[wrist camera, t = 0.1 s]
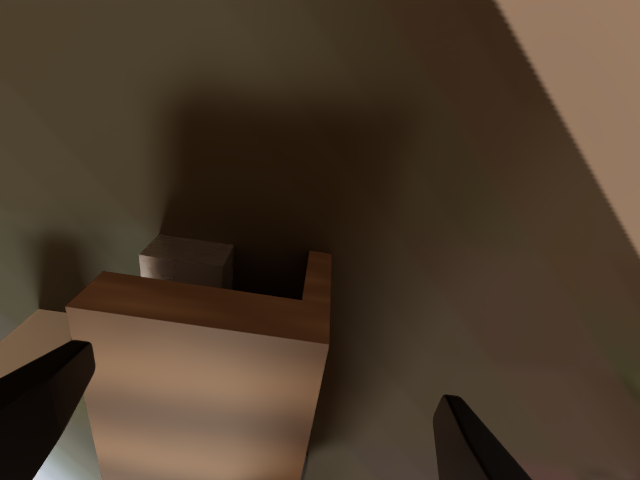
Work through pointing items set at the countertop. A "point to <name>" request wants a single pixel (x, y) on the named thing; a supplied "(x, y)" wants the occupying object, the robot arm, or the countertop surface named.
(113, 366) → the brown wooden slab
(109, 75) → the countertop surface
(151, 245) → the token
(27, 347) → the cube on a stick
